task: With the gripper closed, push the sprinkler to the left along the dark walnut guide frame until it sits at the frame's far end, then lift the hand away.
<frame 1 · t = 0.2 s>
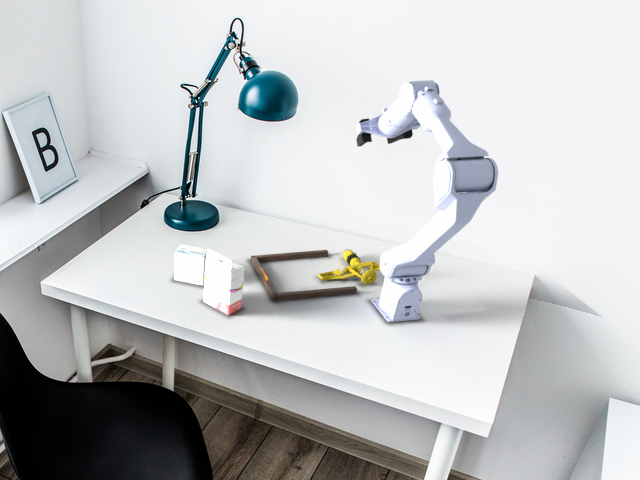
hand: (373, 141, 160), 31 cm above the table, tool tilted 45°, fingers open, 7 cm apart
medicine box: (191, 280, 169), on the table
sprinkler: (351, 272, 170), on the table
guide frame: (303, 276, 169), on the table
ink cartridge box: (222, 305, 159), on the table
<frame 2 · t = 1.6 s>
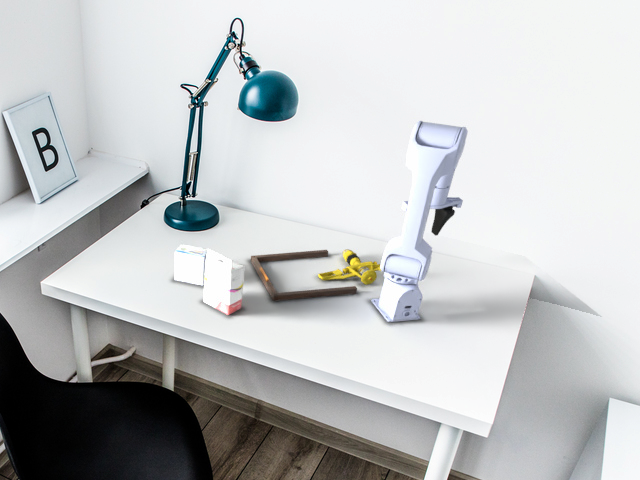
hand: (424, 234, 166), 9 cm above the table, tool pointing down, fingers open, 5 cm apart
nothing on the table moved.
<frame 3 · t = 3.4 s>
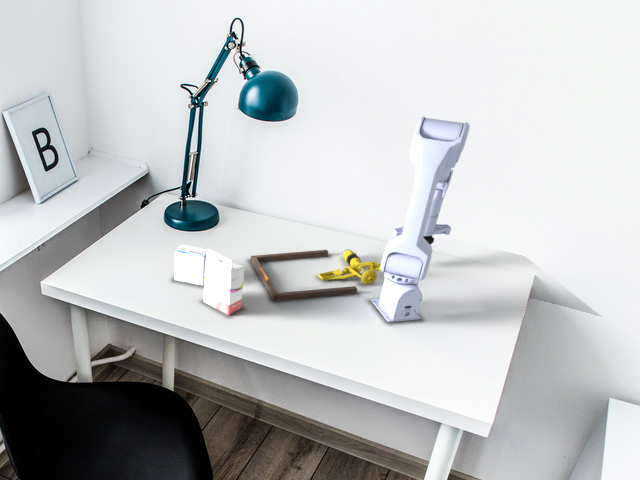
hand: (413, 260, 170), 2 cm above the table, tool pointing down, fingers closed
nothing on the table moved.
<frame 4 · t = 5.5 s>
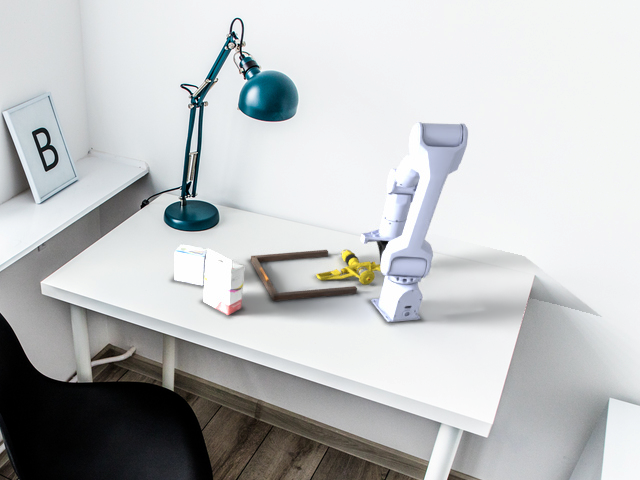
hand: (383, 264, 170), 1 cm above the table, tool pointing down, fingers closed
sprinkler: (349, 272, 170), on the table, touching gripper
everything else where it was.
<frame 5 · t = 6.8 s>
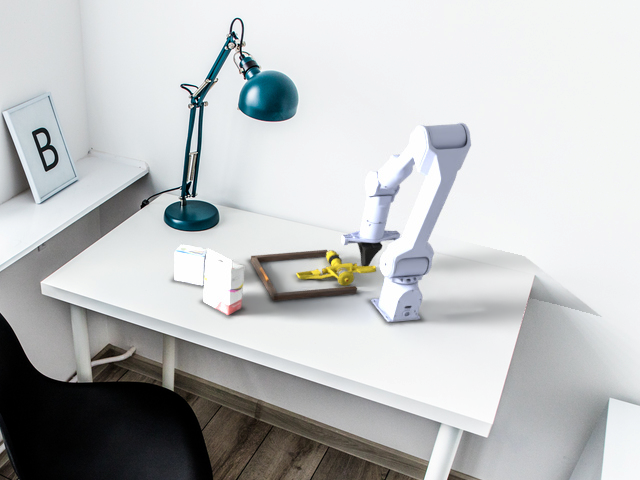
hand: (364, 266, 169), 1 cm above the table, tool pointing down, fingers closed
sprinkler: (331, 273, 170), on the table, touching gripper
everything else where it was.
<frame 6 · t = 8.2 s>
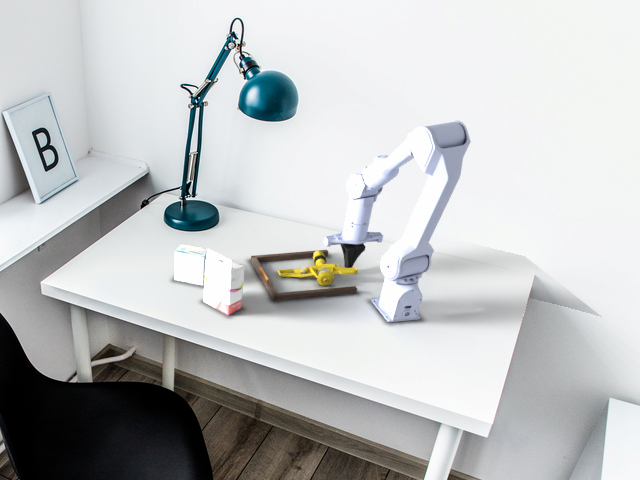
hand: (347, 267, 169), 1 cm above the table, tool pointing down, fingers closed
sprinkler: (314, 273, 170), on the table, touching gripper
everything else where it was.
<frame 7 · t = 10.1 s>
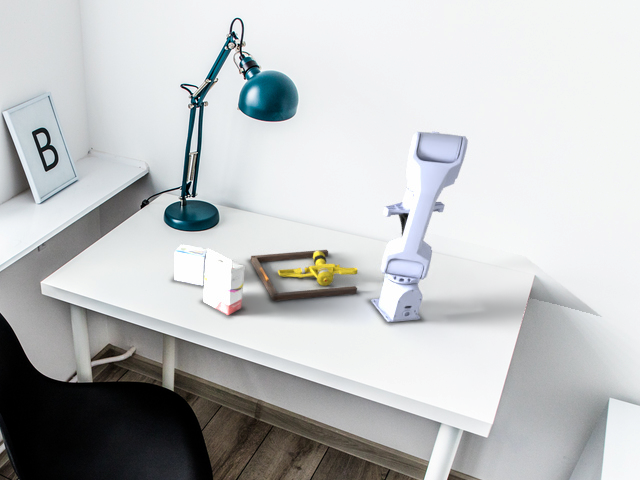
hand: (406, 239, 164), 9 cm above the table, tool pointing down, fingers closed
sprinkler: (314, 273, 170), on the table
everything else where it was.
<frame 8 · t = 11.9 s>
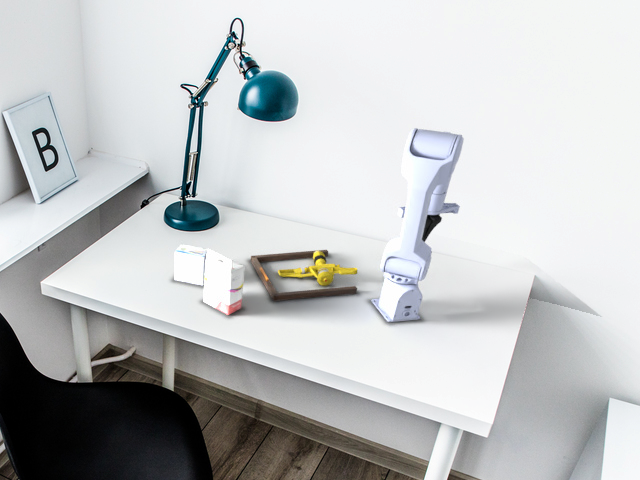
hand: (420, 240, 163), 9 cm above the table, tool pointing down, fingers closed
nothing on the table moved.
at the end: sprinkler inside the target area (3.1 cm from its centre), on the table; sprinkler moved 9.5 cm from its start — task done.
